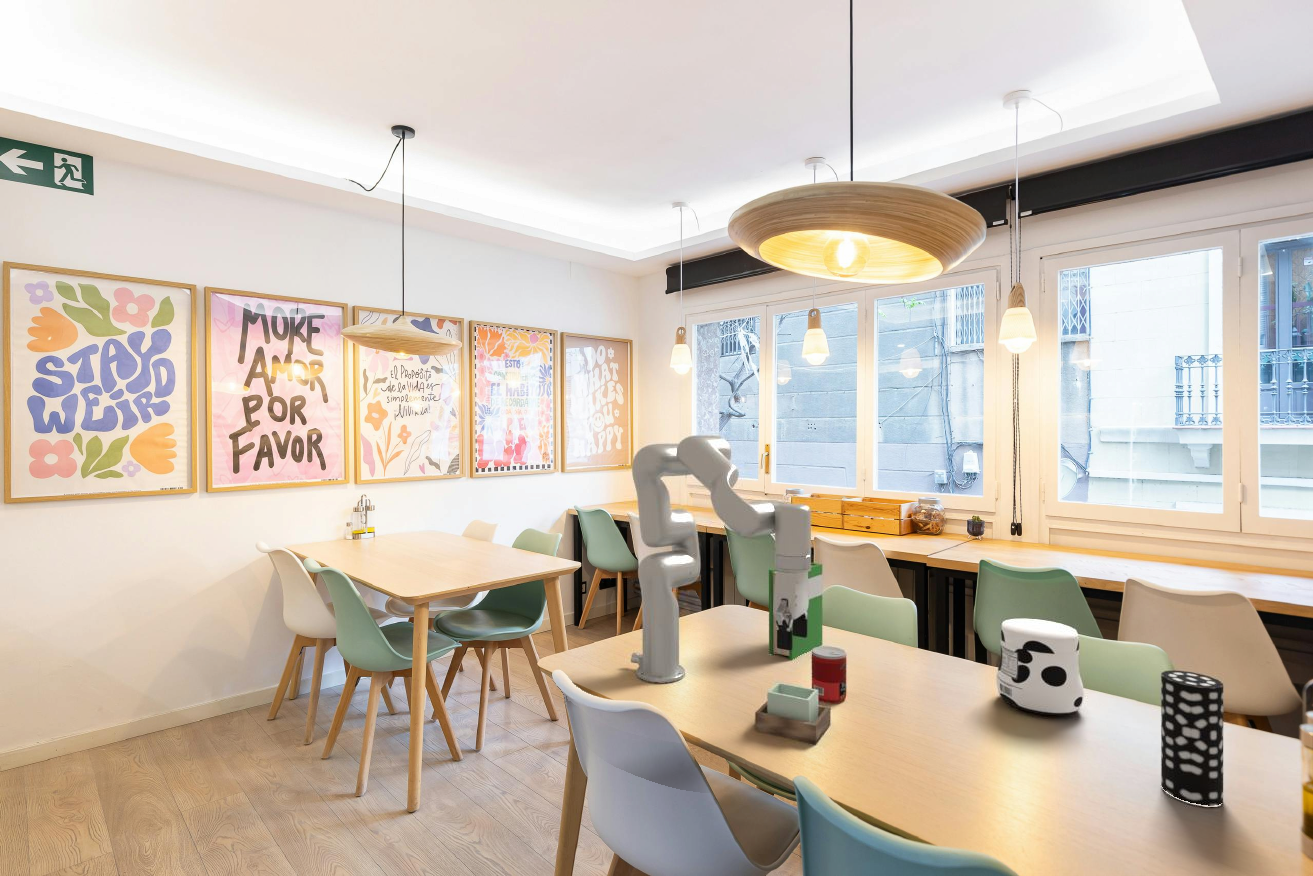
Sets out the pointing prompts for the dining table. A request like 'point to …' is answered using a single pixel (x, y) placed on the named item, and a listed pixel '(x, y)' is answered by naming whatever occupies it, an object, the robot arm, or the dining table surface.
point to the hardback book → (813, 618)
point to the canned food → (829, 673)
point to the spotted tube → (1192, 737)
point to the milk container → (1040, 667)
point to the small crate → (793, 702)
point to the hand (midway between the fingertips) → (792, 642)
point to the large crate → (793, 725)
